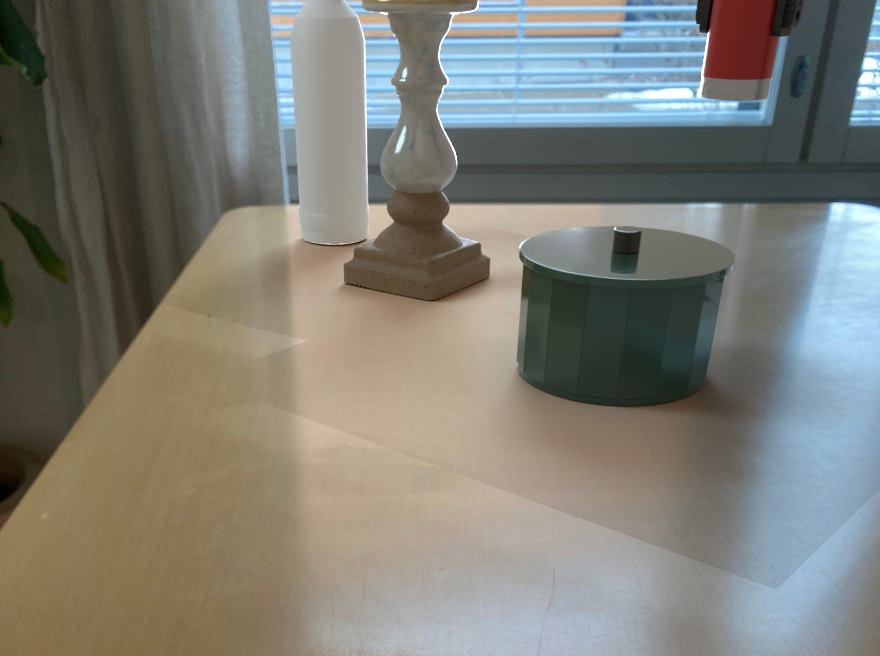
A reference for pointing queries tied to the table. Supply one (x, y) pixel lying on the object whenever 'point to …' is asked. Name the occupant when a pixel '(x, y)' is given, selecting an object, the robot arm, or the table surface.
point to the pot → (615, 340)
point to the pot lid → (626, 257)
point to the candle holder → (418, 169)
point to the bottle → (330, 122)
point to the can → (739, 50)
